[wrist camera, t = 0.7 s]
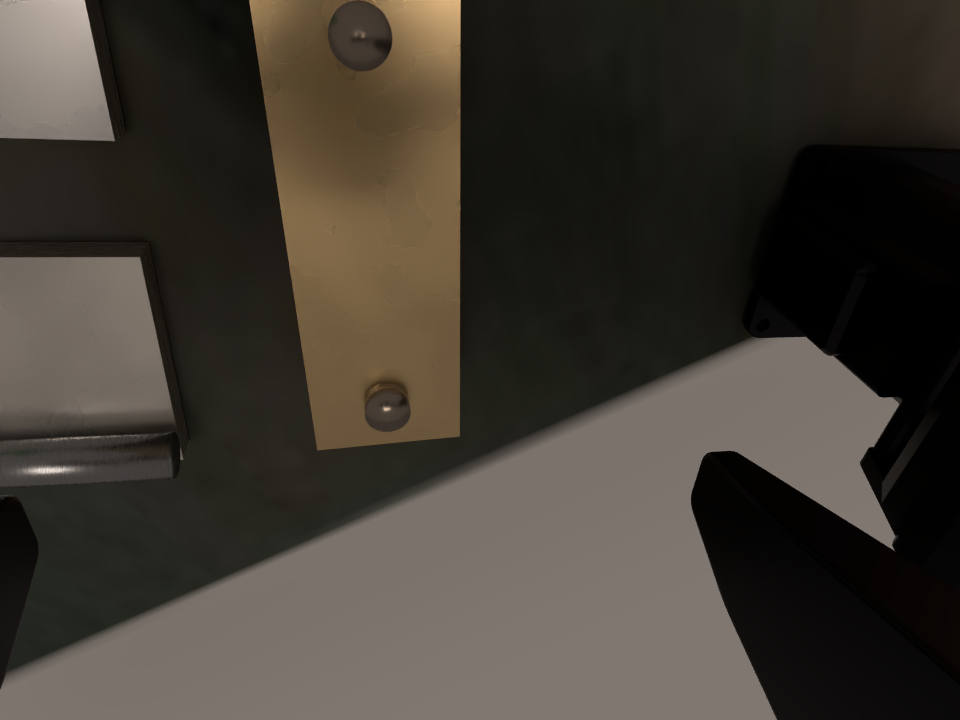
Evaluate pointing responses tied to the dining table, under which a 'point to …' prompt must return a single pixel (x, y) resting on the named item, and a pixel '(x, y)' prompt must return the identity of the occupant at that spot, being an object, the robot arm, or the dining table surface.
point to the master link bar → (370, 207)
